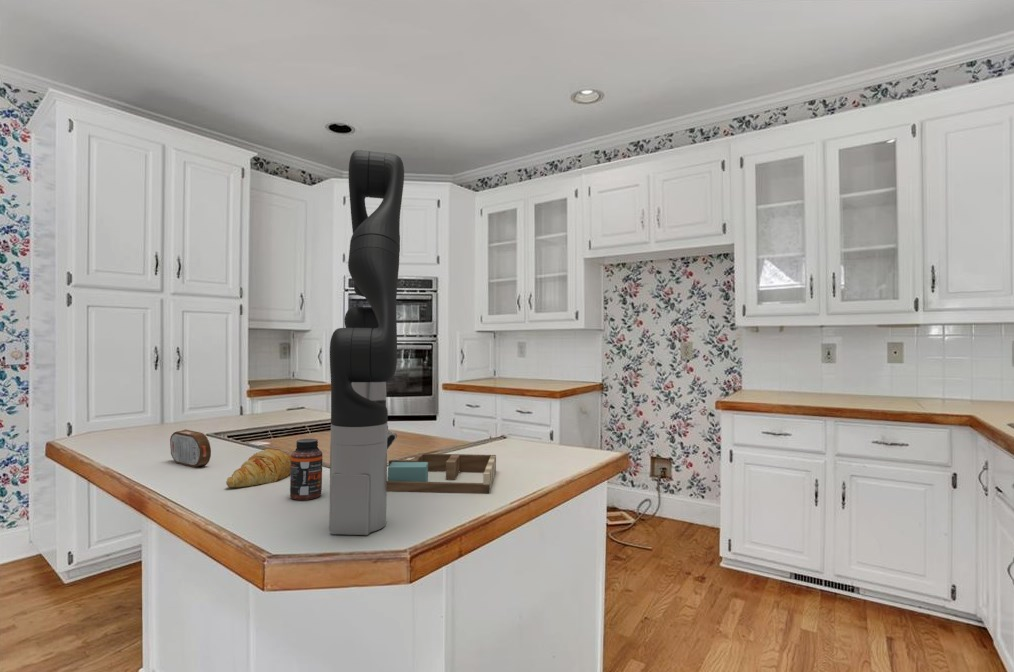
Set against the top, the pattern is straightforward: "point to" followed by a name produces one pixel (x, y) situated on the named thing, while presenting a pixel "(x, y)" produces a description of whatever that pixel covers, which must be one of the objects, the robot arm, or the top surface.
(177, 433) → the tin
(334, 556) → the top surface
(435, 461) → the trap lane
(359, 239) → the robot arm
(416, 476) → the block
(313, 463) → the supplement bottle
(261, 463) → the croissant
